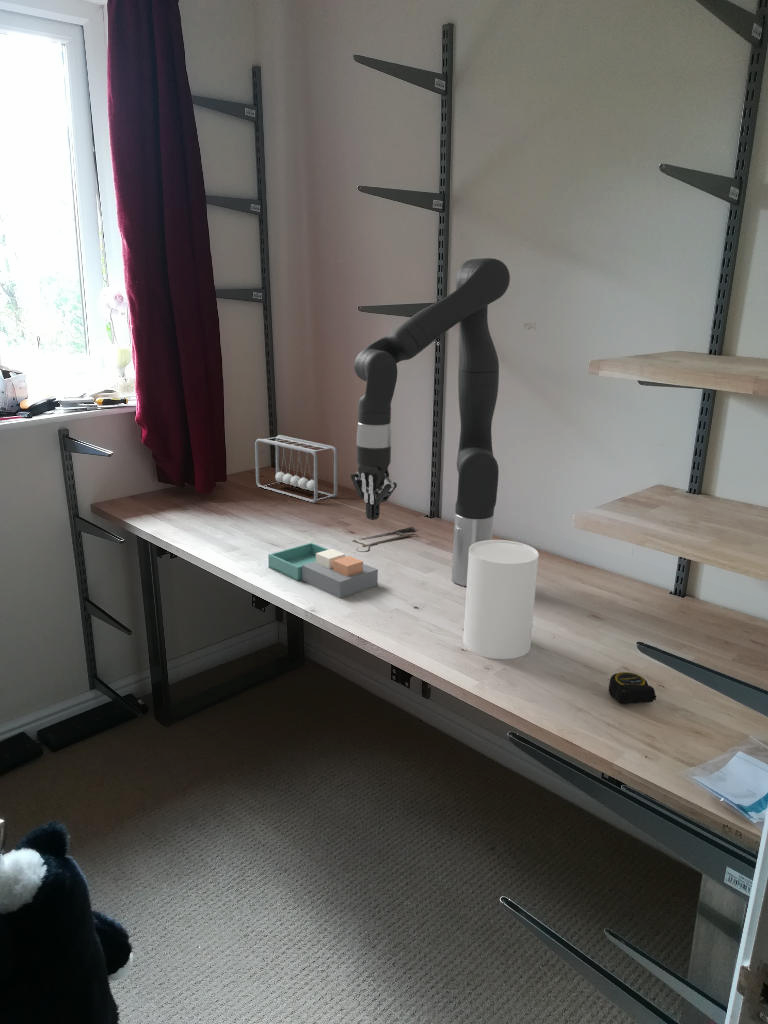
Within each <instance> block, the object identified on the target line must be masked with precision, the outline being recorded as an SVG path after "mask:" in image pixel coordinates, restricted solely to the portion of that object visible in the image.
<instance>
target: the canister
mask: <svg viewBox="0 0 768 1024" xmlns="http://www.w3.org/2000/svg"><path fill="white" fill-rule="evenodd" d="M539 556H540V555H539V551H538V550H537V549H536V548H534V547H533V546H531V545H528V544H526V543H523V542H520V541H514V540H507V539H506V540H505V539H492V540H485V541H480V542H476V543H474V544H472V545H471V546H470V547H469V556H468V573H467V586H466V591H465V592H466V593H465V607H464V608H465V609H464V625H463V626H464V627H463V638H462V639H463V640H462V641H463V645H464V646H465V648H466V649H467V650H469V652H472V653H474V654H475V655H477V656H480V657H484V658H488V659H494V660H512V659H518V658H521V657H523V656H525V655H527V654H528V653H529V652H530V650H531V641H532V632H533V631H532V630H533V621H534V608H535V599H536V588H537V577H538V567H539Z"/></svg>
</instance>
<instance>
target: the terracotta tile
mask: <svg viewBox="0 0 768 1024" xmlns="http://www.w3.org/2000/svg"><path fill="white" fill-rule="evenodd" d="M363 564H364V560H360V559H358V558H356V557H353V556H350V555H347V556H346V557H343V558H340V559H337V560H334V561H333V571H336V572H338V573H340V574H343V575H345V576H350V575H353V574H356V573H359V572H362V571H363Z"/></svg>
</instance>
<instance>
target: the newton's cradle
mask: <svg viewBox="0 0 768 1024" xmlns="http://www.w3.org/2000/svg"><path fill="white" fill-rule="evenodd" d="M272 439H273V440H272ZM274 439H275V440H274ZM280 441H281V442H280ZM282 441H285V442H282ZM286 441H288V442H290V443H291V442H292V444H288V442H286ZM259 443H262V444H263V443H264V444H268V445H273V446H274V448H275V481H276V482H277V483H278V482H283V483H285V484H290V485H293V486H295V487H296V486H297V487H300V488H302V489H306V490H310V491H314V493H313V499H311V498H307V497H304V496H301V495H297V494H293V493H290V492H287V491H283V490H279V489H275V488H271V487H269V486H267V485H270V484H271V483H270V484H266V485H261V483H260V457H259V456H260V453H259ZM295 443H296V445H295ZM301 444H303V446H302V445H301ZM298 445H299V446H298ZM304 446H305V447H304ZM306 446H307V448H306ZM309 446H312V447H309ZM279 447H281V448H282V451H283V452H282V454H283V455H282V457H283V459H282V462H281V465H283V464H284V463H285V465H287V463H286V461H284V459H286V457H285V449H289V450H290V459H289V460H290V461H289V463H291V462H292V463H294V459H293V458H292V457H293V454H292V452H293V450H295V451H298V458H297V462H299V463H300V466H302V463H301V461H300V460H301V457H300V452H303V453H306V458H305V459H306V461H305V463H307V465H305V468H304V471H306V469H307V468H306V467H307V466H310V463H309V461H308V460H309V457H308V454H311V455H312V456H313V473H312V475H311V473H309V474H310V475H309V476H310V477H313V478H310V480H309V479H308V478H306V477H305V476H306V473H303V474H304V475H303V474H301V475H302V476H301V477H300V476H298V472H295V471H293V473H294V475H292V474H291V473H290V472H286V473H285V472H283V467H281V470H280V454H279V453H280V451H279V450H280V449H279ZM313 447H315V449H312V448H313ZM317 448H321V449H317ZM254 450H255V453H254V455H255V459H254V460H255V484H256V485H257V487H258V488H259V487H262V488H264V489H268V490H272V491H275V492H278V493H282V494H286V495H289V496H293V497H296V498H299V499H302V500H301V501H303V500H305V501H304V502H306V501H309V502H308V503H310V502H312V503H311V504H316V502H317V501H320V499H321V500H323V499H327V497H328V498H332V497H333V498H335V497H337V495H338V450H337V448H336V447H335V446H333V445H329V444H326V443H325V444H324V443H320V442H315V441H310V440H307V439H306V440H305V439H301V438H297V437H296V438H295V437H291V436H287V435H282V434H278V435H277V436H274V437H269V438H257V439H256V440H255V442H254ZM325 450H332V451H333V461H334V462H333V494H332V493H329V492H325V491H322V490H318V486H319V484H318V482H319V481H318V455H317V452H320V451H325ZM292 466H293V469H295V466H294V464H292ZM298 468H299V465H297V466H296V470H298ZM300 469H301V470H300V471H301V472H303V468H302V467H300ZM290 470H291V465H289V468H287V467H286V468H285V471H290ZM308 470H309V471H311V469H310V467H308ZM274 483H275V482H274ZM274 483H272V484H274ZM274 485H275V484H274ZM265 486H266V487H265ZM270 486H271V485H270ZM295 487H294V488H295ZM264 489H263V490H264ZM302 489H301V490H302ZM268 490H267V491H268ZM306 490H305V491H306ZM310 491H309V492H310ZM275 492H274V493H275ZM278 493H277V494H278ZM318 493H321V494H325V495H328V496H324V497H320V498H318V496H319V494H318ZM282 494H281V495H282ZM321 494H320V495H321ZM289 496H288V497H289ZM296 498H295V499H296ZM299 499H298V500H299Z"/></svg>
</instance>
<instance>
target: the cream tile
mask: <svg viewBox="0 0 768 1024" xmlns="http://www.w3.org/2000/svg"><path fill="white" fill-rule="evenodd" d="M328 549H329V550H326V551H322V552H319V553H316V563H317V564H319V565H322V566H324V567H326V568H329V569H330V568H333V561H334V560H337V559H340V558H343V557H345V556H346V554H345V553H343V552H341V551H338V550H335V549H333V548H328Z"/></svg>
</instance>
